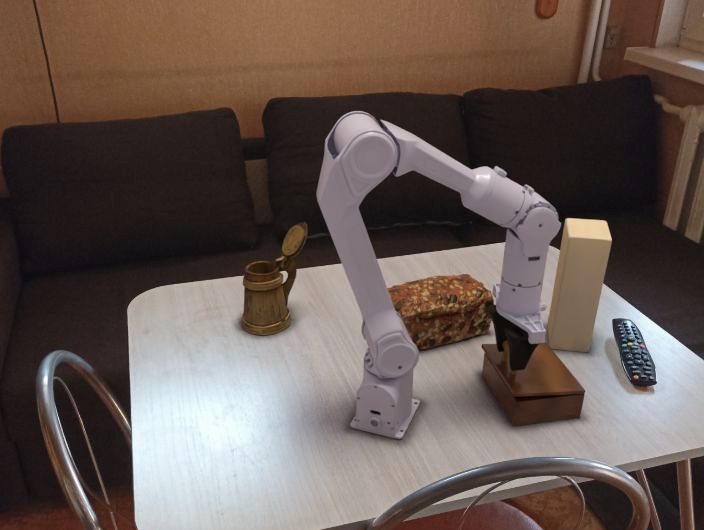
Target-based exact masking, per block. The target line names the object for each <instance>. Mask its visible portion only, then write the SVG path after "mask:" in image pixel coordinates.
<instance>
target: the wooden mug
mask: <svg viewBox="0 0 704 530" xmlns="http://www.w3.org/2000/svg"><path fill="white" fill-rule="evenodd" d="M307 237H308V223H307V222H306V221H304V222H299V223H296V224H295V225H293V226H292V227H290V229H289V230H288V231H287V232H286V234H285V236H284V238H283V241H282V246H281V254H280V256H279V258H276V259H274V260H273V262H272V261H268V260H267V261H266V260H258V261H254V262H251V263H248V264H247V265H246V266H245V268H244V274H243V278H242V286H243V287H244V289H243V290H244V295H243V312H242V316H241V327H242V329H243V330H244V331H245V332H247V333H250V334H253V335H259V336H270V335H274V334H277V333H280V332H282V331H283V330H285V329H288V327H289V326H290V325H291V323H292V317H291V311H290V308H289V307H288V303H289V297H290V293H291V291H292V289H293V286H294V285H295V281H296V278H297V271H298V269H297V264H296V261H295V259H294V257H296V256H297V255H299V253H300V252H301V251H302V249H303V247H304V246H305V243H306V240H307ZM284 271H285V272H286V274H287V277H286V279H285V280H284V274H283V273H282V272H284Z"/></svg>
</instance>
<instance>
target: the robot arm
mask: <svg viewBox="0 0 704 530" xmlns="http://www.w3.org/2000/svg"><path fill="white" fill-rule="evenodd" d="M380 122H381V124H382V127H383V128H382V127H381V125H380V124H379V122H378V120H377V119H376V118H375V116H373V115H372V114H370V113H368V112H365V111H363V110H354V111H350V112H347V113H345V114H343V115H342V116H341V117H340V118H338V119H337V121H336V123H335V124H334V126H333V127H332V129H331V130H330V131H329V133H328V135H327V136H326V138H325V140H324V153H323V158H322V159H323V160H322V163H321V168H320V174H319V179H318V183H317V188H316V193H315V194H316V201H317V203H318V206H319V209H320V211H321V214H322V217H323V219H324V221H325V224H326V227H327V230H328V232H329V235H330V237H331V239H332V242H333V244H334V247H335V249H336V252H337V254H338V258H339V260H340V262H341V265H342V267H343V270H344V272H345V275H346V278H347V281H348V283H349V286H350V288H351V290H352V293H353V296H354V298H355V300H356V303H357V306H358V308H359V312H360V314H361V318H362V322H361V335H362V338H363V339H364V340H365V342H366V345H367V348H366V351H365V353H364V357H363V377H362V381H361V383H360V385H359V387H358V389H357V391H356V394H355V396H356V397H355V409H356V410H355V415H354V417H353V419H352V420H351V422H350V424H349V426H350V428H352V429H356V430H359V431H364V432H367V433H372V434H374V435H375V434H376V435H379V436H384V437H388V438H393V439H396V440H402V439H404V437H405V434H406V432H407V430H408V428H409V427H410V425H411V422H412V420H413V418H414V417H415V415H416V412H417V411H418V408H419V407H420V405H421V400H419V399H416V398H413V392H414V391H413V390H414V369H415V368H416V367H417V365H418V362H419V359H420V351H419V349H417V347H416V345H415V344H414V343H413V341H412V339H411V337H410V335H409V333H408V331H407V329H406V327H405V325H404V322H403V319H402V317H401V315H400V314H399V313H398V312H397V311H395V309H394V306H393V303H392V300H391V297H390V295H389V292H388V289H387V288H388V286H387V284H386V281H385V278H384V275H383V272H382V269H381V267H380V265H379V261H378V259H377V255H376V253H375V250H374V248H373V244H372V242H371V239H370V236H369V233H368V231H367V228H366V225H365V223H364V220H363V219H364V218H363V217H362V214H361V211H360V205H361V204H362V202H363V200H364V199H365V197H366V196H367V195H368V194H369V193H370V192H372V190H373V189H374V188H376V187H377V186H378V185H379V184H380V183H382V182H383V181H384V180H385V179H386V178H387V177H388V176H389V175H390V174H391V173H392V174H393V176H394V177H400V176H402V175H405V174H407V173H409V172H412V171H413V172H416V173H418V174H421V175H423V176H424V177H427V178H429V179H430V180H433V181H434V182H437V183H439V184H441V185H443V186H445V187H447V188H450V189H451V190H453V191H455V192H458V193H459V194H460V200H461V203H462V206H463V207H464V208H466V209H467V210H468V209H469V210H470V211H472V212H474V213H476V214H478V215H480V216H481V217H483V218H485V219H487V220H489V221H491V222H492V223H494V224H496V225H498V226H500V227H503V228H506V233H505V235H506V236H505V244H504V251H503V258H502V267H501V275H500V282H494V283H493V284H492V292H491V293H492V296H493V298H495V304H494V305H490V306H488V311H489V313H490V316H491V318H492V321H491V322H492V325H493V329H494V337H495V344H496V345H497V350H498V351H499V352H503V351H504V348H503V346H502V344H503V342H504V341H506V340H508V344H509V365H510V369H511V370H512V371H517V370H524V369H525V368H526V366H527V364H528V362H529V360H530V357H531V355H532V354H533V352H534V350H535V349H536V347H537V346H538V345H539V344H540V343H544V342H545V341H546V338H547V335H548V332H547V330H546V328H545V327H544V323H543V317H542V312H545V311H547V307H548V306H547V303H545V302H544V301H543V300H541V298H542V297H541V296H542V290H543V284H544V279H545V271H546V265H547V258H548V252H549V249H550V244H551V242H552V240H554V238H555V237H557V235H558V233H559V231H560V229H561V227H562V222H560V221H559V213H558V212H557V209H556V207H554V205H552V204H551V203H550V202H549V201H548V200H546V199H545V198H544V197H543V196H541V195H540V194H539V193H538V192H536V191H535V189H534V188H533V187H532V186H530V185H528V184H524V185H520V184H519V183H518V182H515V181H513V180H511V178H508V177H507V175H508V173H507V171H505V170H504V169H503V168H501V167H499V166H498V165H495V166H494V167H493V168H491V167H489V166H486V165H485V166H484V165H483V166H479V167H477V168H473V169H471V168H470V167H468V166H466V165H464V164H463V163H461V162H460V161H458V160H456V159H454V158H453V157H451V156H450V155H448V154H446V153H445V152H443V151H441V150H440V149H438V148H437V147H435V146H433V145H432V144H430V143H428V142H426V141H425V140H424V139H422V138H421V137H418V136H417V135H415V134H413V133H412V132H410V131H407V130H406V129H403V128H401V127H399V126H397V125H395V124H393V123H391V122H390V121H386V120H383V119H380Z"/></svg>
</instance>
